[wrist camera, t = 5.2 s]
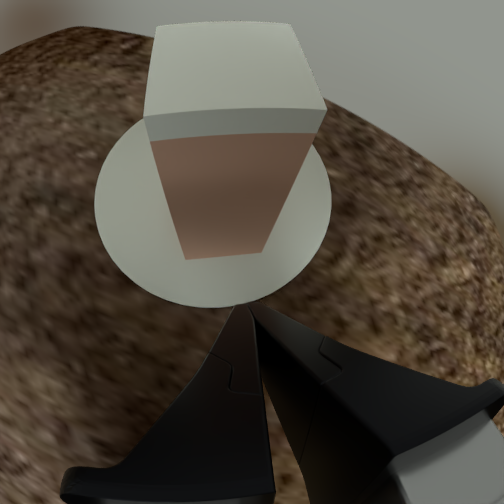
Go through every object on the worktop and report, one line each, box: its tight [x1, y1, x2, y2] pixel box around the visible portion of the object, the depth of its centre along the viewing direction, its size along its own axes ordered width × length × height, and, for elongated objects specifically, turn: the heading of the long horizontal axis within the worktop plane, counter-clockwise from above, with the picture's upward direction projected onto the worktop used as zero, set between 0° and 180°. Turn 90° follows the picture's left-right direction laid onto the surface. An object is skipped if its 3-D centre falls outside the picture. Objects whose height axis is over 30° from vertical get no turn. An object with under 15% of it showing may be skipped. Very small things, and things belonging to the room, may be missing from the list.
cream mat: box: [94, 118, 331, 308], centre depth 20 cm, size 16×16×1 cm
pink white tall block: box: [143, 21, 327, 260], centre depth 13 cm, size 4×4×12 cm
